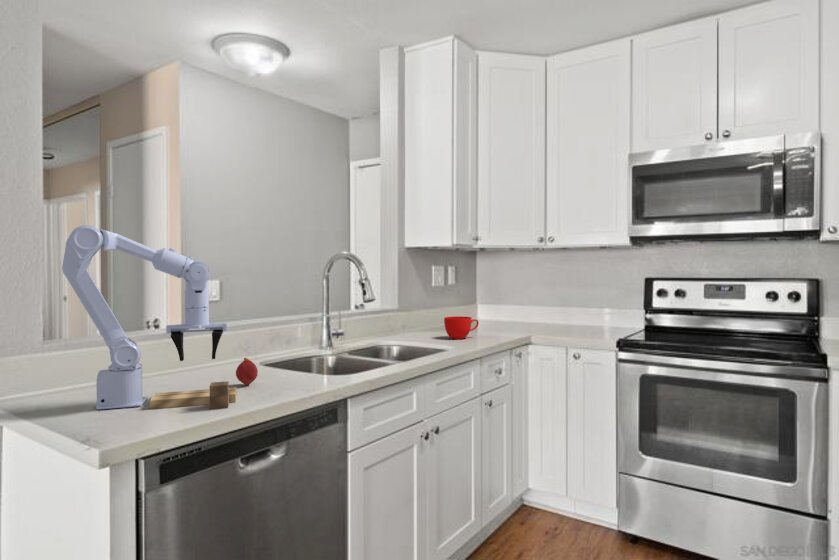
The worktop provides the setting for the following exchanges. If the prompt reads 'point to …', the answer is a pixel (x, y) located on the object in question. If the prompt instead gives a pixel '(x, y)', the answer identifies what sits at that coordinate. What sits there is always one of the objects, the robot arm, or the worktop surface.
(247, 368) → the onion
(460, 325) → the ceramic cup
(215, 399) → the brown wooden block
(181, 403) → the board
